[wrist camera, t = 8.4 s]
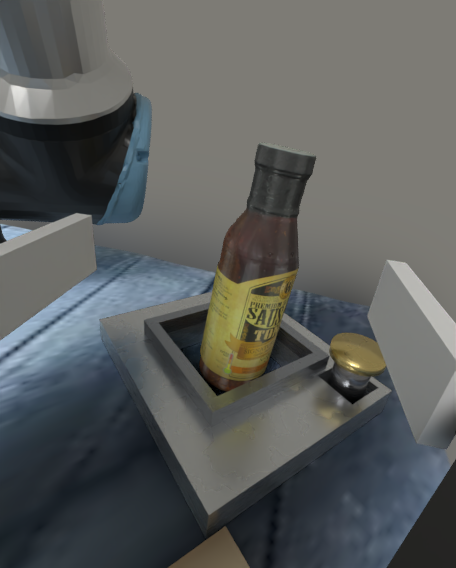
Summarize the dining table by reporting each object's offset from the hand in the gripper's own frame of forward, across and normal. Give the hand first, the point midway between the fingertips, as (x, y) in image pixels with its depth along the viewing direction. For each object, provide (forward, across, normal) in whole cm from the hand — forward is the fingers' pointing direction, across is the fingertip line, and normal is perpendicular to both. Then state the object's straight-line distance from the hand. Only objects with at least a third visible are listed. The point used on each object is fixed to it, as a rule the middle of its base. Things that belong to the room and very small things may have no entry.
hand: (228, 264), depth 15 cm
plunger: (+9, +10, -14) cm, 20 cm away
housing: (+10, 0, -16) cm, 19 cm away
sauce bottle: (+10, 0, -16) cm, 19 cm away
